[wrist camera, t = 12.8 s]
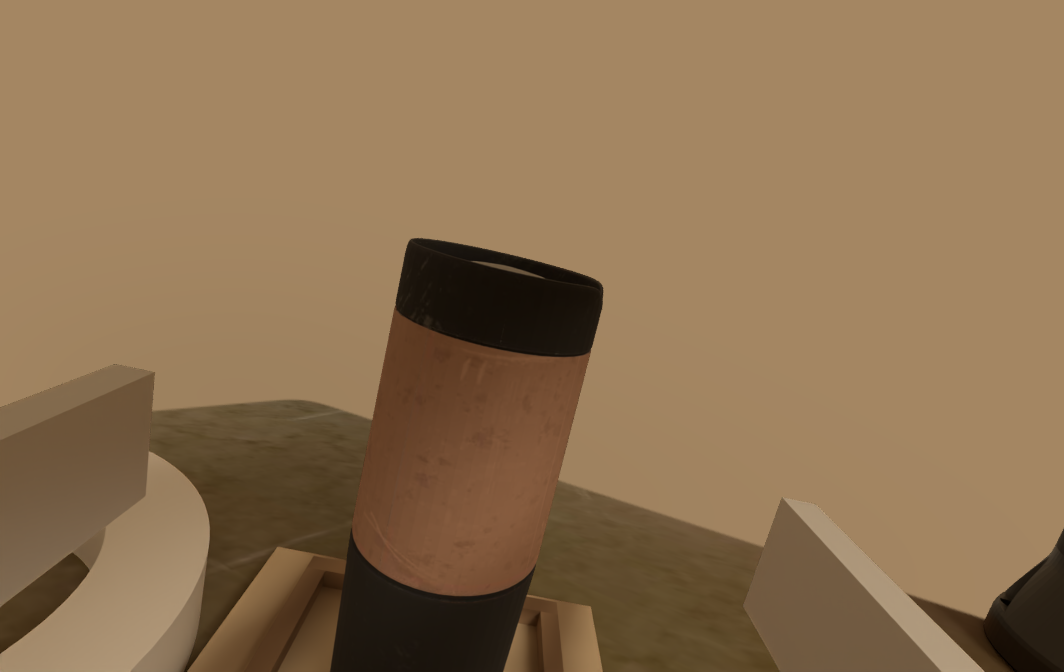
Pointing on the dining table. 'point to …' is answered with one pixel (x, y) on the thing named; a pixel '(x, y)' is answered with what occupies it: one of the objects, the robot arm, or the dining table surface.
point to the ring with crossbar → (130, 589)
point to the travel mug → (462, 458)
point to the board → (312, 613)
